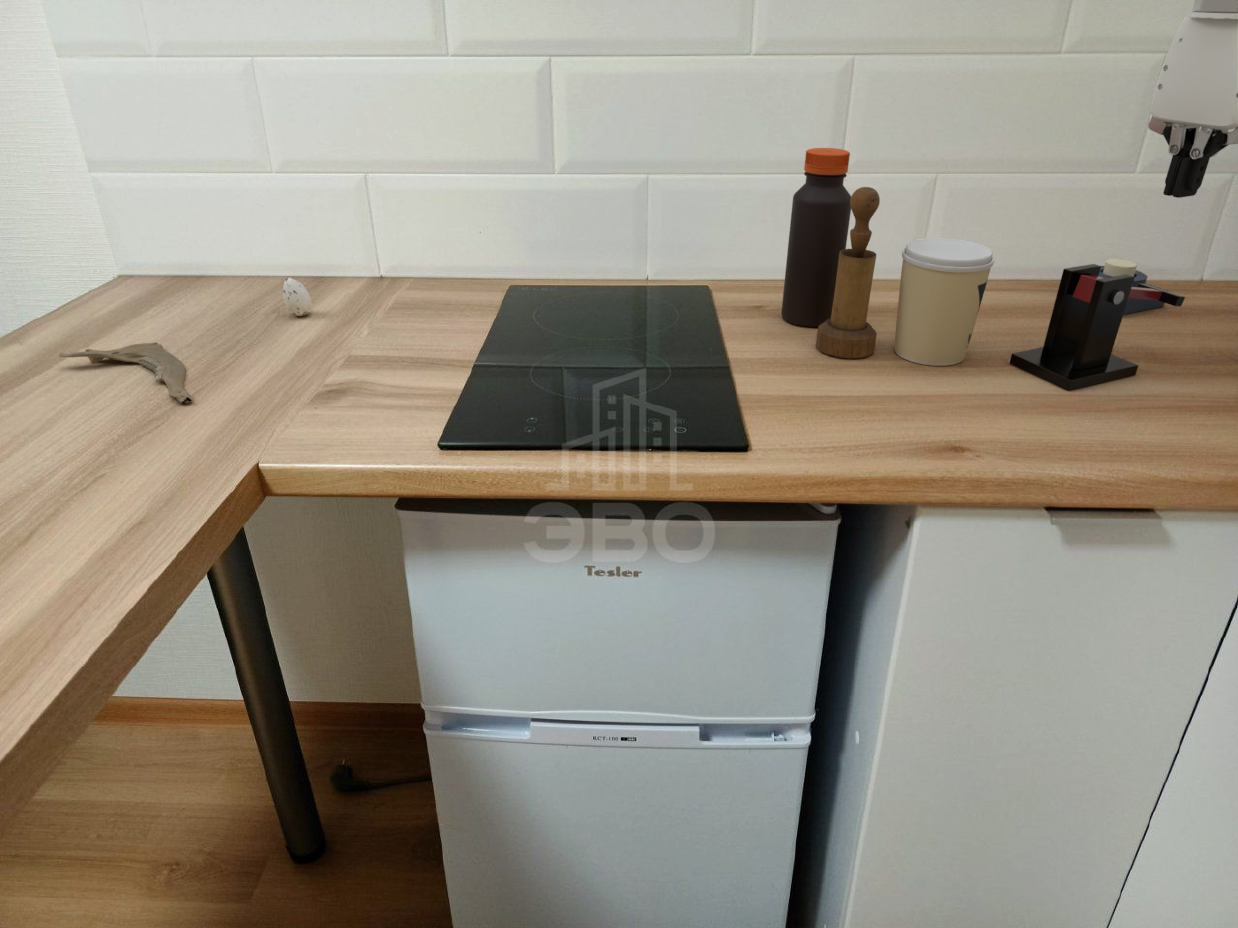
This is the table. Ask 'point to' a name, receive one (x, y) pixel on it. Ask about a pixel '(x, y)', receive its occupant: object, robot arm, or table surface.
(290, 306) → the egg
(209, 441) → the table surface
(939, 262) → the coffee cup
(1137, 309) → the button box
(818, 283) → the bottle
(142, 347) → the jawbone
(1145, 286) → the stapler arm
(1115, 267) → the button
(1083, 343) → the black stand
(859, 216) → the mortar and pestle
